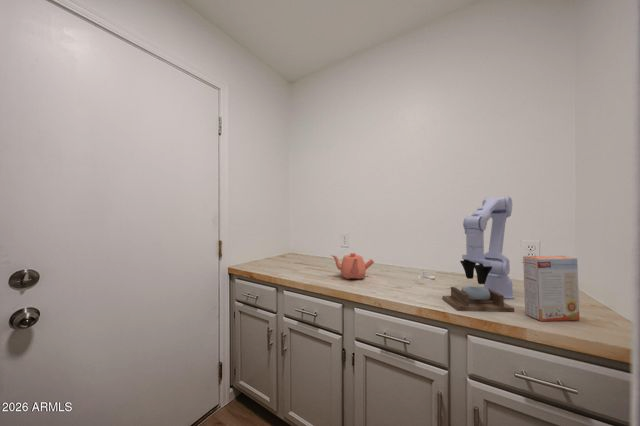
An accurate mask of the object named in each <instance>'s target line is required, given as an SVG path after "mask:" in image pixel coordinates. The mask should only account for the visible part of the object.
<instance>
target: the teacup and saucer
mask: <svg viewBox="0 0 640 426" xmlns="http://www.w3.org/2000/svg"><path fill="white" fill-rule="evenodd" d="M419 273H420V275H418V277H417V278H418V279H420V280H423V279H424V280H427V281H428V280H435V279H436V276H435V275H434V276H433V275H430V276H429V271H428V270H422V271H420V272H419Z"/></svg>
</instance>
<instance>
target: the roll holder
mask: <svg viewBox="0 0 640 426" xmlns="http://www.w3.org/2000/svg"><path fill="white" fill-rule="evenodd" d="M487 289H488V288H487ZM488 290H489V292H490V299H489V300H469V295H468V294H466V293H464V292H462V291H461V289H459V288H457V287H455V286H450V295H442V298H441V299H442V300H443V301H444V302H446V303H447V304H448V305H450V306H451V307H452V308H454V309H455V311H456V310H457V311H458V312H459V311H460V312H492V313H493V312H494V313H495V312H499V313H500V312H501V313H503V312H504V313H515V307H514V306H511V305H509V304H508V303H505V301H504V299H505V298H504V296H503V295H501V294H499V293H497V292H494V291H492V290H490V289H488Z"/></svg>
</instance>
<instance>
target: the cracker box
mask: <svg viewBox="0 0 640 426" xmlns="http://www.w3.org/2000/svg"><path fill="white" fill-rule="evenodd" d="M522 257H523V258H522V259H523V263H522V264H523V286H524V287H523V288H524V289H523V290H524V309H525V310H524V311H525V312H524V313H525V314H524V315H526V316H528V317H531V318H532V319H535V320H537V321H539V322H555V321H558V322H561V321H580V319H581V317H580V316H581V315H580V295H579V273H578V272H579V270H578V269H579V268H578V258H577V257H572V256H571V257H570V256H566V255H532V256H530V255H529V256H527V255H526V256H525V255H524V256H522Z"/></svg>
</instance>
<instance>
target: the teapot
mask: <svg viewBox="0 0 640 426" xmlns="http://www.w3.org/2000/svg"><path fill="white" fill-rule="evenodd" d="M330 256H331V257H333V259H334V262H335V265H336V268H337V269H338V270H339V271H340V273H341V275H342V277H343V278H345V280H351V279H357V280H363V278H365V277H366V273H367V272H366V271H367V270H368V269H369V268H370V267H371V266H372V265H373V264H375V261H374V260H373V259H372V258H370V259H369V260H368V261H367V262H366V263H365V261H364V258H363V256H361V255H359V254H358V255H356V253H355V252H351V253H350V254H348V255H346V254H345V255H343V257H342V260H341V263H340V262H339V257H338V256H337V255H333V254H331V255H330Z"/></svg>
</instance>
